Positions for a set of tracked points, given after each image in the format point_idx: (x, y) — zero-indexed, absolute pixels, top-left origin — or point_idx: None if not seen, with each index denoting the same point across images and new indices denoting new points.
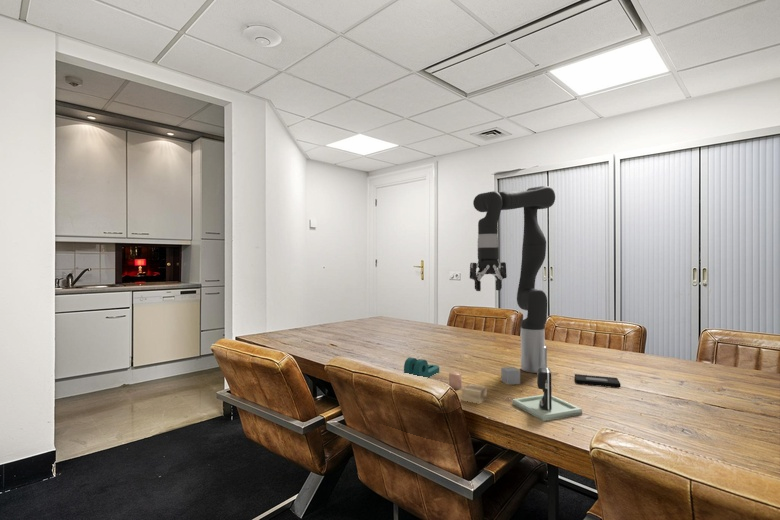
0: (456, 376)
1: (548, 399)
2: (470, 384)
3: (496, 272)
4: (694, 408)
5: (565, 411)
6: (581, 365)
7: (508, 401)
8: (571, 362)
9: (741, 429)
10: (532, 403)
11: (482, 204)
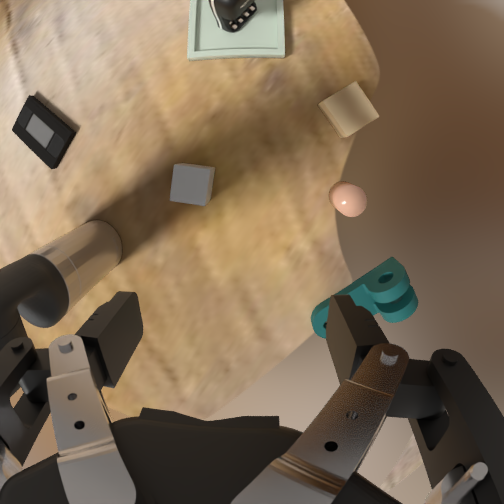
0: (356, 186)
1: None
2: (348, 132)
3: (92, 399)
4: (33, 7)
5: None
6: (11, 238)
7: (282, 73)
8: None
9: None
10: (251, 36)
11: None
